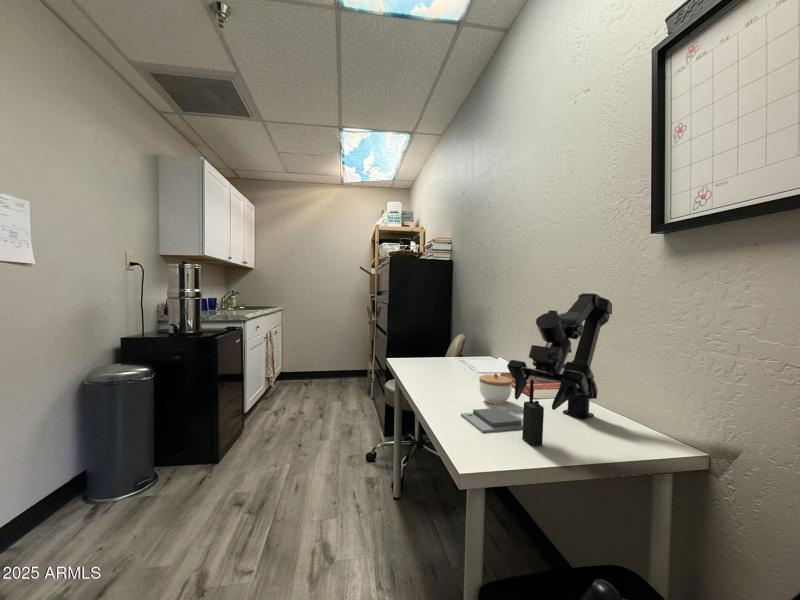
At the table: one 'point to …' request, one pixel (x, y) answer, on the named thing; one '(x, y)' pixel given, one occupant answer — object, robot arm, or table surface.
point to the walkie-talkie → (533, 420)
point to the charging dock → (493, 420)
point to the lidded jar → (495, 388)
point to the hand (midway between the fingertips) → (533, 403)
